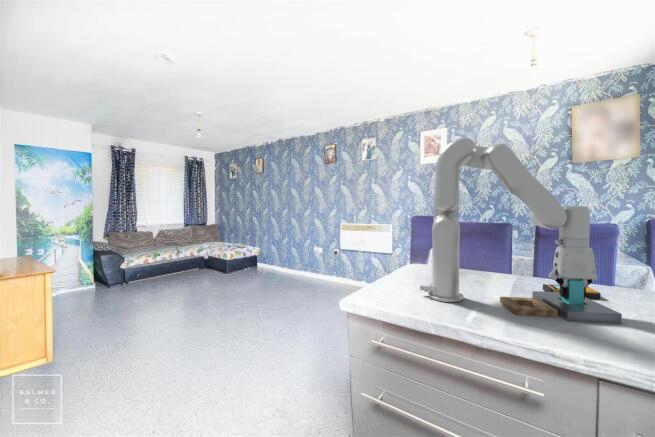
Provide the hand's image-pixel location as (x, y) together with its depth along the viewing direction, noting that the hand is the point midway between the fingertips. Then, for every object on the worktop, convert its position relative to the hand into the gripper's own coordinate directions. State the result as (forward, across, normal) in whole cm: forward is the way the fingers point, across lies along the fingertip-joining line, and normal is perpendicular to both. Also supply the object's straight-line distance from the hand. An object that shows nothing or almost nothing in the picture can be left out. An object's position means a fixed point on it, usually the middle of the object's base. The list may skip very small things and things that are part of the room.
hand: (572, 297), depth 94 cm
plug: (+3, 0, 0) cm, 3 cm away
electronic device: (+5, +10, +18) cm, 21 cm away
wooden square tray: (+4, -14, -1) cm, 15 cm away
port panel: (+4, 0, 0) cm, 4 cm away
